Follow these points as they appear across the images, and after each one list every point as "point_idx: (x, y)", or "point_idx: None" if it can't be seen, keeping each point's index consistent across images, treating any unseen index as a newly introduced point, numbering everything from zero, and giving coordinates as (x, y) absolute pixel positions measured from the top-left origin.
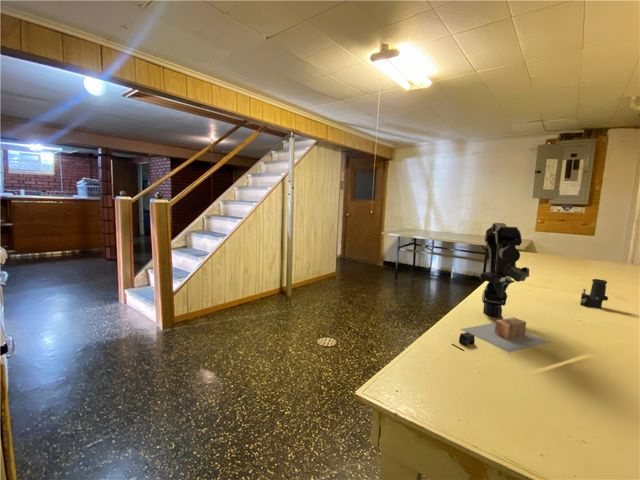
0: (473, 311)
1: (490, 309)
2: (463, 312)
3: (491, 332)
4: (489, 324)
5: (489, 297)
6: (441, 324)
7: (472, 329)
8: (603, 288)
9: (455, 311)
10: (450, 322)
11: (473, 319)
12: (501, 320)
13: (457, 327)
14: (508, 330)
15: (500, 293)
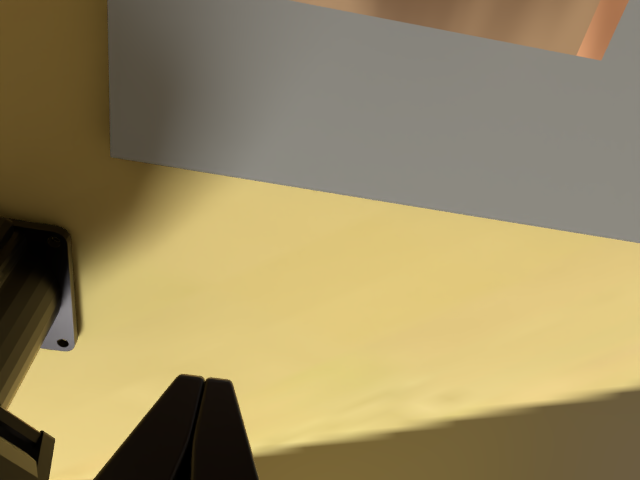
0: (63, 400)
1: (20, 332)
2: None
3: None
4: (296, 170)
5: (16, 478)
6: (637, 378)
7: (614, 191)
8: None
9: None
10: (525, 368)
11: (260, 316)
12: (515, 13)
13: (603, 291)
14: None
15: (249, 476)
